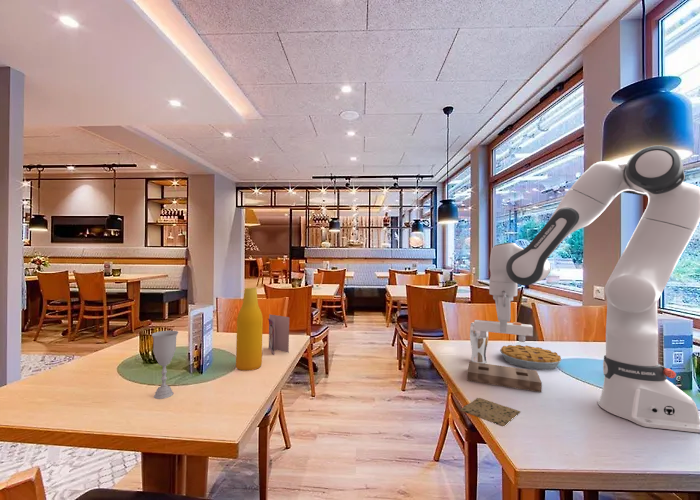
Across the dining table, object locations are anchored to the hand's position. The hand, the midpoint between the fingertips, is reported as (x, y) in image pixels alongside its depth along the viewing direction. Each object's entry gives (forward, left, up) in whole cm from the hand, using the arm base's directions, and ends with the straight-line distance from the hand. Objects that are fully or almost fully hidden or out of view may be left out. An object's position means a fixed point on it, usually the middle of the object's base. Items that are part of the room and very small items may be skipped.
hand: (502, 330), depth 113 cm
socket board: (0, 0, -17) cm, 17 cm away
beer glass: (+8, -18, -17) cm, 26 cm away
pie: (-11, -27, -18) cm, 34 cm away
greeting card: (+88, +6, -17) cm, 90 cm away
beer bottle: (+86, +27, -17) cm, 92 cm away
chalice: (+92, +57, -17) cm, 109 cm away
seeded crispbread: (+4, +26, -18) cm, 32 cm away
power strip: (0, 0, -3) cm, 3 cm away
